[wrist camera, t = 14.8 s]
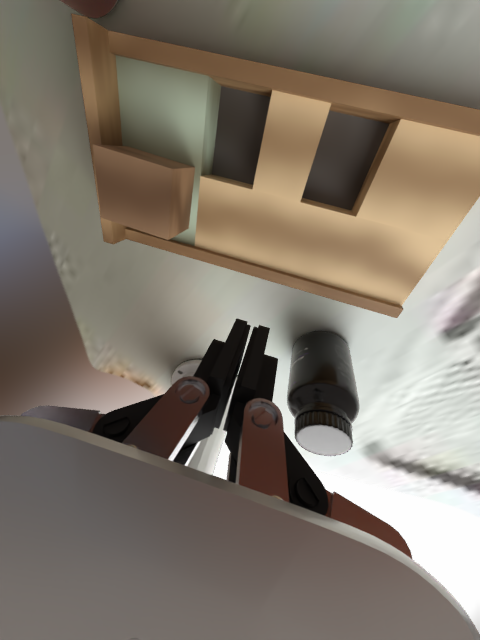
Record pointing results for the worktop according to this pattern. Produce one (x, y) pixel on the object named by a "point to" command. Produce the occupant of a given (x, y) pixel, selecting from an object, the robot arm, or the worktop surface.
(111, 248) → the worktop surface
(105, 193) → the walnut block
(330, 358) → the supplement bottle
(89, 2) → the beverage can
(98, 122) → the trap trough
